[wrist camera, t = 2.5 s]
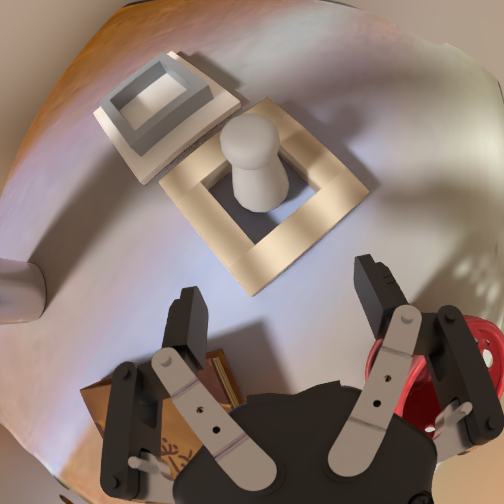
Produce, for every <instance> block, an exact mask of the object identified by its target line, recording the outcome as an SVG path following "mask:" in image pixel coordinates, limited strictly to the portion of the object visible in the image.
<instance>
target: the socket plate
mask: <svg viewBox="0 0 504 504" xmlns="http://www.w3.org/2000/svg"><path fill="white" fill-rule="evenodd" d="M99 105H100V107H99V108H98V109H97V110H96V111H95V112H94V113H93V114H94V115H95V117H96V119H97V120H98V122H99V123H100V125H101V126H102V128H103V129H104V131H105V132H106V134H107V135H108V137H109V138H110V140H111V141H112V143H113V144H114V146H115V147H116V149H117V150H118V152H119V153H120V155H121V156H122V157H123V159H124V160H125V162H126V163H127V165H128V166H129V168H130V169H131V170H132V172H133V173H134V175H135V176H136V177H137V179H138V180H139V182H140V183H141V184H143V185H144V186H145V185H146V184H147V183H148V182H149V181H150V180H151V179H152V178H153V177H154V176H156V175H157V174H158V173H159V172H160V171H161V170H162V169H163V168H165V167H166V166H167V165H168V164H169V163H170V162H171V161H173V160H174V159H175V158H176V157H177V156H179V155H180V154H181V153H182V152H183V151H184V150H186V149H187V148H188V147H189V146H191V145H192V144H193V143H194V142H196V141H197V140H198V139H199V138H201V137H202V136H203V135H204V134H206V133H207V132H208V131H210V130H211V129H212V128H214V127H215V126H216V125H217V124H219V123H220V122H222V121H223V120H224V119H226V118H227V117H228V116H230V115H231V114H233V113H234V112H235V111H237V110H238V109H240V108H241V107H242V106H241V102H240V101H239V100H238V99H237V98H235V97H234V96H233V95H232V94H230V93H229V92H228V91H226V90H225V89H224V88H223V87H221V86H220V85H219V84H217V83H216V82H215V81H213V80H212V79H211V78H209V77H208V76H207V75H205V74H204V73H202V72H201V71H200V70H198V69H197V68H195V67H194V66H193V65H191V64H190V63H188V62H187V61H185V60H184V59H183V58H181V57H180V56H178V55H177V54H175V53H174V52H172V51H171V52H169V53H168V54H166V53H165V52H162V53H161V54H159V55H158V56H156V57H155V58H154V59H152V60H151V61H149V62H148V63H147V64H145V65H144V66H142V67H141V68H140V69H138V70H137V71H136V72H135V73H133V74H132V75H131V76H129V77H128V78H127V79H126V80H124V81H123V82H122V83H121V84H120V85H118V86H117V87H116V88H115V89H114V90H112V91H111V92H110V93H109V94H108V95H107V96H106V97H104V98H103V99H102V100H101V101H100V102H99Z"/></svg>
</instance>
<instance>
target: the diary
mask: <svg viewBox="0 0 504 504" xmlns="http://www.w3.org/2000/svg"><path fill="white" fill-rule="evenodd" d="M197 378H198V379H199V381H200V382H201V383H202V384H203V386H204V387H205V388H206V389H207V390H208V392H209V393H210V394H211V395H212V396H213V397H214V399H215V400H216V401H217V402H218V403H219V404H220V406H221V407H222V408H223V409H224V410H225V411H226V412H227V413H229V412H230V411H231V410H232V409H234V408H235V407H237V406H238V405H240V404H242V403H245V402H244V399H243V397H242V395H241V393H240V390H239V388H238V386H237V383H236V381H235V379H234V377H233V374H232V372H231V369H230V367H229V365H228V362H227V360H226V357H225V355H224V353H223V350H222V349H219V350H216V351H212V352H209V353H206V358H205V370H201V371H198V373H197ZM111 384H112V379H108V380H103V381H99V382H96V383H94V384H92V385H90V386H87V387H85V388H83V389H80V393H81V395H82V397H83V399H84V402H85V404H86V406H87V408H88V410H89V413H90V415H91V417H92V419H93V421H94V423H95V425H96V427H97V429H98V430H99V432H100V434H101V436H102V438H104V430H105V422H106V415H107V408H108V402H109V396H110V390H111ZM202 445H203V443H202V442H201V440H200V439H199V438H198V436H197V435H196V434H195V433H194V431H193V430H192V429H191V427H190V426H189V425H188V423H187V422H186V420H185V419H184V418H183V416H182V415H181V413H180V412H179V411H178V409H177V408H176V406H175V405H174V403H173V402H172V400H171V397H170V398H168V399H165V400H163V408H162V430H161V458H162V459H164V460H165V461H166V462H167V463H168V465H169V468H170V473H171V475H172V477H173V478H174V479H175V478H176V476H177V475H178V474H179V473H180V472H181V470H182V469H183V468H184V467H185V466H186V465H187V463H188V462H189V461H190V460H191V459H192V457H193V456H194V455H195V454H196V453H197V451H198V450H199V449H200V448H201V447H202ZM146 504H170V503H160V502H155V503H146Z"/></svg>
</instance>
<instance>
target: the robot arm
mask: <svg viewBox="0 0 504 504" xmlns="http://www.w3.org/2000/svg"><path fill="white" fill-rule="evenodd" d="M354 286H355V290H356V292H357V295H358V297H359V299H360V302H361V304H362V307H363V309H364V311H365V314H366V316H367V319H368V321H369V324H370V327H371V329H372V332H373V334H374V337H375V339H376V340H380V339H383V341H384V342H383V344H382V347H381V348H380V351H379V353H378V356H377V358H376V361H375V363H374V365H373V368H372V370H371V372H370V375H369V377H368V379H367V382H366V384H365V386H364V388H363V390H360V389H358V388H355V387H351V386H341V384H340V380H338V381H333V382H329V383H324V384H320V385H316V386H314V387H311V388H309V389H307V390H305V391H302V392H300V393H298V394H295V395H287V394H275V393H266V394H258V395H250V396H247V402H245V403H242V404H240V405H238V406H237V407H235V408H234V409H232V410H231V411H230V412H229V413H227V412H226V411H225V410H224V409H223V408H222V407H221V406H220V404H219V403H218V402H217V401H216V400H215V399H214V397H213V396H212V395H211V394H210V393H209V392H208V390H207V389H206V388H205V387H204V386H203V384H202V383H201V382H200V381H199V379H198V378H197V373H198V371H201V370H205V358H206V343H207V330H208V309H207V306H206V303H205V301H204V299H203V297H202V295H201V293H200V291H199V289H198V287H197V286H193V287H187V288H183V289H182V291H181V296H180V299H176V300H174V302H173V303H172V305H171V306H170V308H169V313H168V318H167V322H166V323H167V324H166V327H165V332H164V338H163V343H162V348H161V349H160V350H159V351H157V352H156V353H155V355H154V356H153V358H152V360H151V361H149V362H147V363H144V364H141V365H139V366H136V365H135V364H133V363H132V362H124V363H121V364H120V365H119V366H118V367H117V368H116V369H115V371H114V374H113V379H112V384H111V390H110V396H109V402H108V408H107V415H106V422H105V430H104V438H103V448H102V459H101V473H100V484H101V487H102V489H103V491H104V492H105V493H106V494H107V495H108V496H110V497H114V498H119V499H122V500H125V501H131V502H137V503H155V502H160V503H170V504H434V501H433V498H432V492H431V488H432V479H433V475H434V471H435V468H436V464H437V463H439V462H442V461H444V460H446V459H448V458H450V457H453V456H455V455H464V454H466V453H468V452H470V451H472V450H474V449H476V448H478V447H480V446H482V445H484V444H486V443H488V442H489V441H491V440H493V439H495V438H496V437H498V436H499V435H500V434H501V432H502V430H503V427H504V414H503V411H502V408H501V404H500V401H499V398H498V395H497V392H496V390H495V387H494V384H493V381H492V379H491V376H490V374H489V371H488V369H487V366H486V364H485V361H484V359H483V357H482V354H481V352H480V350H479V348H478V345H477V343H476V341H475V339H474V337H473V335H472V333H471V331H470V329H469V327H468V325H467V323H466V321H465V319H464V317H463V315H462V313H461V312H460V310H459V309H458V308H456V307H454V306H451V305H446V306H443V307H441V308H440V309H439V311H438V313H421V312H420V311H419V310H418V309H417V308H415V307H414V306H411V305H409V303H408V302H407V300H406V298H405V296H404V294H403V292H402V291H401V289H400V287H399V285H398V284H397V283H396V280H395V278H394V277H393V275H392V273H391V271H390V270H389V268H388V267H387V266H385V265H384V264H383V263H382V262H378V263H375V262H374V260H373V258H372V256H371V255H370V254H366V255H361V256H357V257H355V263H354ZM45 301H46V286H45V281H44V277H43V274H42V272H41V270H40V269H39V268H38V266H37V265H35V264H33V263H28V262H21V261H15V260H9V259H2V258H0V325H2V324H18V323H27V322H28V321H34V320H37V319H38V318H39V317H40V316H41V315H42V312H43V310H44V307H45ZM412 355H424V358H425V361H426V363H427V366H428V369H429V372H430V375H431V378H432V381H433V384H434V387H435V391H436V394H437V397H438V401H439V404H440V408H441V411H442V412H440V413H439V415H438V416H437V418H436V421H435V435H434V437H433V439H431V437H430V436H428V435H427V434H426V433H424V432H423V431H421V430H420V429H418V428H417V427H415V426H414V425H412V424H411V423H409V422H408V421H406V420H405V419H403V418H402V417H400V416H399V415H397V414H396V413H394V410H395V408H396V405H397V403H398V400H399V398H400V395H401V392H402V390H403V387H404V384H405V381H406V378H407V375H408V372H409V369H410V366H411V363H412V359H413V356H412ZM170 397H171V400H172V402H173V403H174V405H175V406H176V408H177V409H178V411H179V412H180V413H181V415H182V416H183V418H184V419H185V420H186V422H187V423H188V425H189V426H190V427H191V429H192V430H193V431H194V433H195V434H196V435H197V436H198V438H199V439H200V440H201V442H202V443H203V445H202V447H201V448H200V449H199V450H198V451H197V453H196V454H195V455H194V456H193V457H192V459H191V460H190V461H189V462H188V463H187V465H186V466H185V467H184V468H183V469H182V470H181V472H180V473H179V474H178V475H177V476H176V478H175V479H174V478H173V477H172V475H171V473H170V468H169V465H168V463H167V462H166V461H165V460H164V459H162V458H161V430H162V408H163V400H165V399H168V398H170Z"/></svg>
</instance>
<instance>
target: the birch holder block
mask: <svg viewBox="0 0 504 504" xmlns="http://www.w3.org/2000/svg"><path fill="white" fill-rule="evenodd" d="M245 113H258V114H261V115H263V116H266V117H268V118H269V119H270V120H271V121H272V122H273V123H274V124H275V125H276V127H277V129H278V133H279V137H280V146H279V149H278V153H277V154H278V155H279V156H280V157H281V158H282V159H283V160H284V161H285V162H286V163H287V164H288V165H289V166H290V167H291V168H292V169H293V170H294V171H295V172H296V173H297V174H298V175H299V176H300V177H301V178H302V179H303V180H304V181H305V182H306V183H307V184H308V185H309V186H310V187H311V188H312V189H313V190H314V191H315V192H316V194H315V195H314V196H312V197H311V198H310V199H309V200H308V201H307V202H305V203H304V204H303V205H302V206H301V207H299V208H298V209H297V210H296V211H295V212H294V213H292V214H291V215H290V216H289V217H288V218H287V219H285V220H284V221H283V222H282V223H281V224H280V225H278V226H277V227H276V228H275V229H274V230H272V231H271V232H270V233H269V234H268V235H267V236H265V237H264V238H263V239H262V240H261V241H260V242H258V243H257V244H256V245H254V243H253V242H252V241H251V240H250V239H249V238H248V237H247V235H246V234H245V233H244V232H243V231H242V230H241V228H240V227H239V226H238V225H237V224H236V223H235V221H234V220H233V219H232V218H231V217H230V216H229V215H228V213H227V212H226V211H225V210H224V209H223V208H222V206H221V205H220V204H219V203H218V202H217V201H216V200H215V198H214V197H213V196H212V195H211V194H210V193H209V192H208V190H209V189H210V188H211V187H212V186H214V185H215V184H216V183H217V182H218V181H220V180H221V179H222V178H223V177H225V176H226V175H227V174H228V173H229V172H231V171H232V165H231V164H230V162H229V161H228V160H227V158H226V157H225V156H224V154H223V153H222V149H221V142H220V135H221V132H222V130H223V129H222V130H220V131H219V132H218V133H216V134H215V135H214V136H212V137H211V138H210V139H209V140H207V141H206V142H205V143H204V144H202V145H201V146H200V147H199V148H197V149H196V150H195V151H194V152H192V153H191V154H190V155H189V156H188V157H186V158H185V159H184V160H183V161H182V162H180V163H179V164H178V165H177V166H176V167H175V168H173V169H172V170H171V171H170V172H169V173H168V174H167V175H165V176H164V177H163V178H162V179H161V180H160V181H159V184H160V185H161V186H162V188H163V189H164V190H165V192H166V193H167V194H168V195H169V197H170V198H171V199H172V201H173V202H174V203H175V204H176V206H177V207H178V208H179V210H180V211H181V212H182V213H183V215H184V216H185V217H186V218H187V220H188V221H189V222H190V223H191V225H192V226H193V227H194V228H195V230H196V231H197V232H198V233H199V235H200V236H201V237H202V238H203V240H204V241H205V242H206V243H207V245H208V246H209V247H210V248H211V250H212V251H213V252H214V253H215V255H216V256H217V257H218V258H219V259H220V261H221V262H222V263H223V264H224V266H225V267H226V268H227V269H228V270H229V272H230V273H231V274H232V275H233V277H234V278H235V279H236V280H237V281H238V283H239V284H240V285H241V286H242V287H243V289H244V290H245V291H246V292H247V293H248V295H249V296H250V297H253V296H255V295H256V294H257V293H258V292H260V291H261V290H262V289H263V288H264V287H265V286H267V285H268V284H269V283H270V282H271V281H273V280H274V279H275V278H276V277H277V276H278V275H280V274H281V273H282V272H283V271H284V270H285V269H286V268H288V267H289V266H290V265H291V264H292V263H293V262H295V261H296V260H297V259H298V258H299V257H300V256H301V255H303V254H304V253H305V252H306V251H307V250H308V249H309V248H311V247H312V246H313V245H314V244H315V243H316V242H317V241H318V240H320V239H321V238H322V237H323V236H324V235H325V234H326V233H327V232H329V231H330V230H331V229H332V228H333V227H334V226H335V225H336V224H337V223H338V222H340V221H341V220H342V219H343V218H344V217H345V216H346V215H347V214H348V213H349V212H351V211H352V210H353V209H354V208H355V207H356V206H357V205H358V204H359V203H360V202H361V201H362V200H363V199H364V198H365V197H366V196H367V195H368V194H369V191H368V189H367V188H366V187H365V186H364V185H363V184H362V183H361V182H360V181H359V180H358V179H357V178H356V177H355V176H354V175H353V174H352V173H351V172H350V171H349V170H348V169H347V168H346V167H345V166H344V165H343V164H342V163H341V162H340V161H339V160H338V159H337V158H336V157H335V156H334V155H333V154H332V153H331V152H330V151H329V150H328V149H327V148H326V147H325V146H324V145H323V144H322V143H321V142H320V141H318V140H317V139H316V138H315V137H314V136H313V135H312V134H311V133H310V132H308V131H307V130H306V129H305V128H304V127H303V126H302V125H300V124H299V123H298V122H297V121H296V120H295V119H294V118H292V117H291V116H290V115H289V114H288V113H286V112H285V111H284V110H283V109H281V108H280V107H279V106H278V105H277V104H275V103H274V102H273V101H272V100H270V99H269V98H268V97H267V98H265V99H264V100H262V101H261V102H259V103H258V104H256V105H255V106H254V107H252V108H251V109H249V110H248V111H246V112H245ZM243 114H244V113H243Z"/></svg>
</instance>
